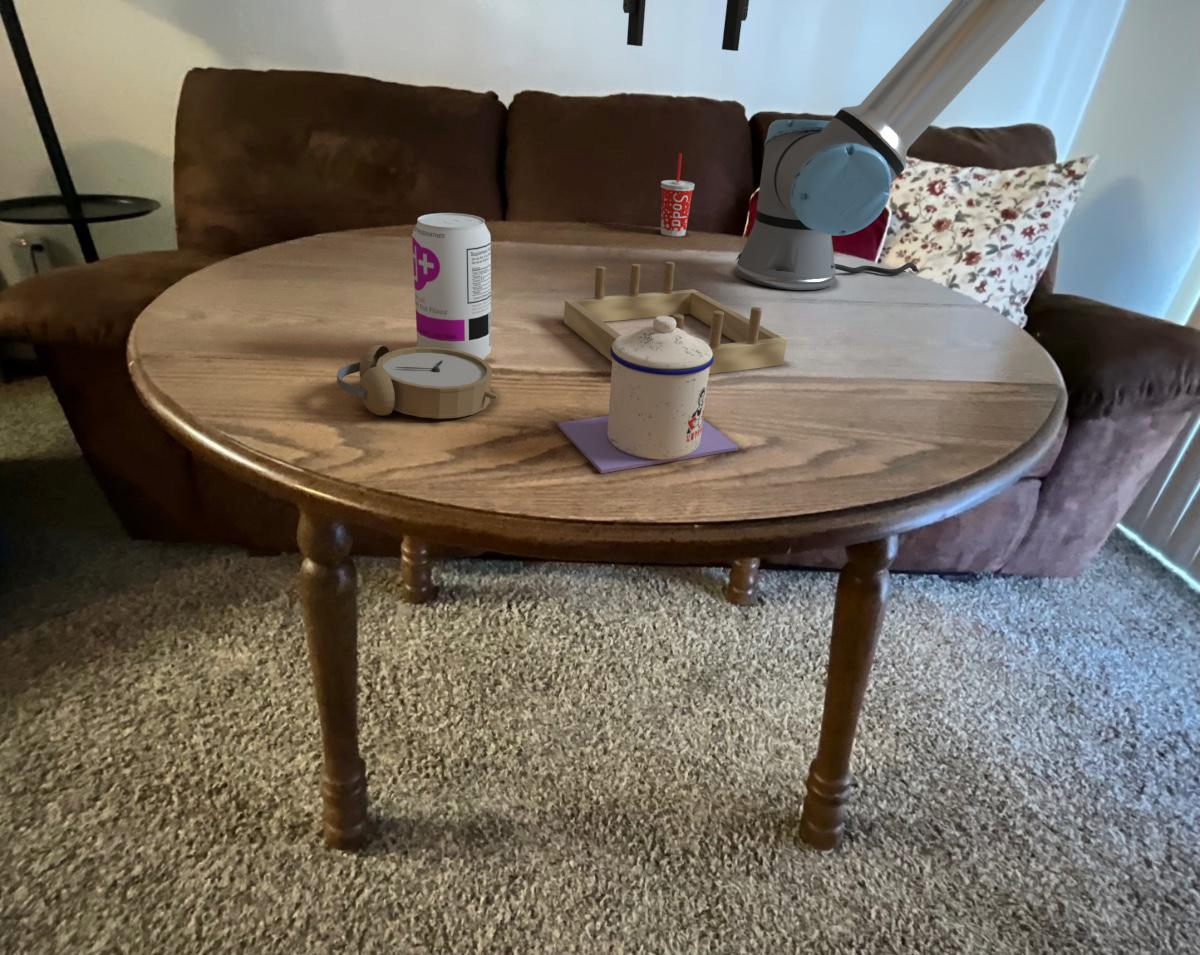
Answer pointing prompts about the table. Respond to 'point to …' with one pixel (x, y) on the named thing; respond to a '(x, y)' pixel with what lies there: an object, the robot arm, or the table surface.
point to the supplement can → (453, 282)
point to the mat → (609, 458)
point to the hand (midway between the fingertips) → (683, 48)
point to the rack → (751, 338)
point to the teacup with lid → (658, 391)
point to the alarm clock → (420, 382)
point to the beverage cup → (675, 205)
